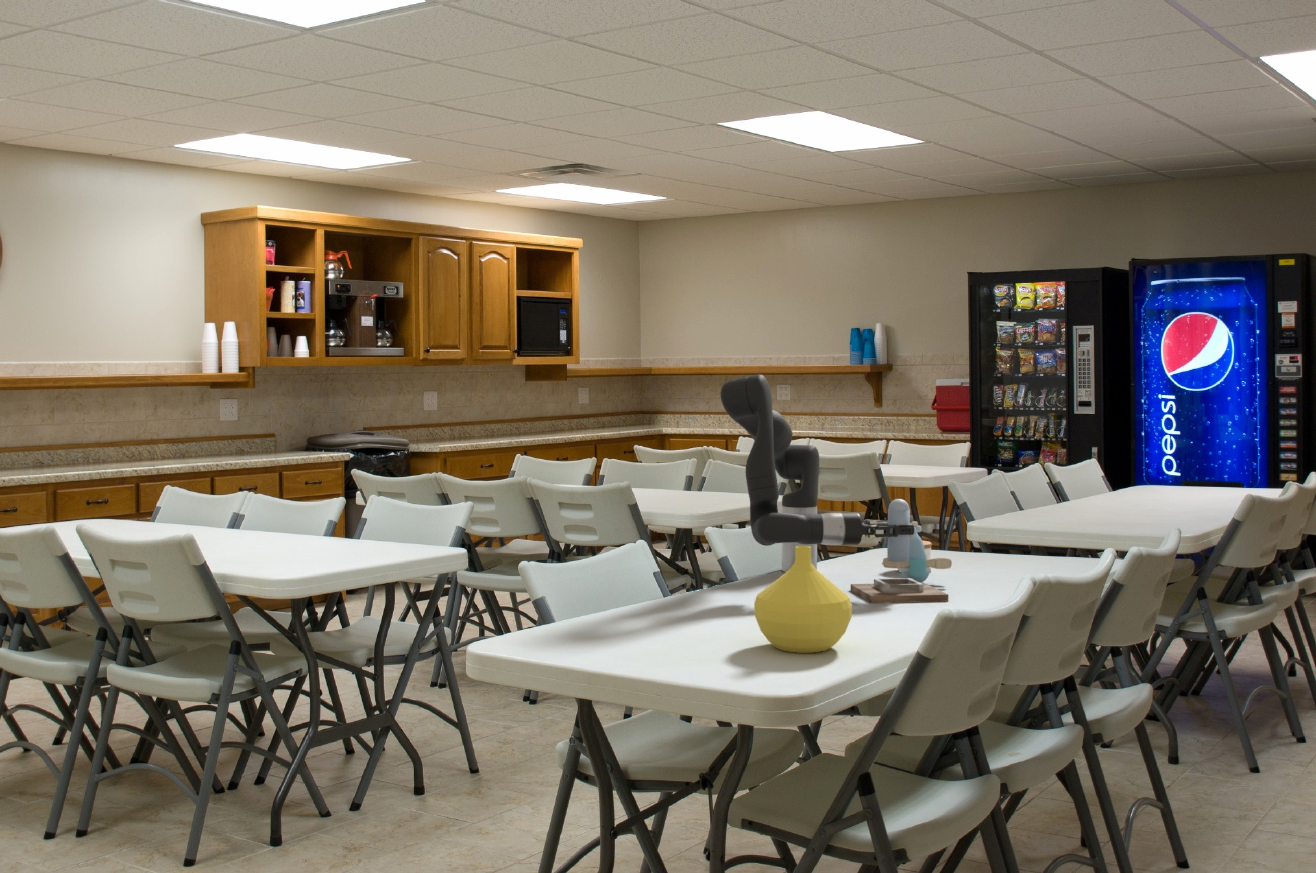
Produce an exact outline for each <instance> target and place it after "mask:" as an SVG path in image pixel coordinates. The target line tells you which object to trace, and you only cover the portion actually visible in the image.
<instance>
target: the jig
mask: <svg viewBox="0 0 1316 873" xmlns="http://www.w3.org/2000/svg"><path fill="white" fill-rule="evenodd" d="M850 591H851V592H853V593H854V594H857V596H860V597H861V598H863V599H864V600H866V601H868V602H870V604H882V603H884V604H885V603H886V604H887V603H920V602H921V603H924V602H926V603H928V602H930V603H931V602H933V603H934V602H949V594H948V593H946V592H943V591H942V590H939V589H938V588H936V587H933V586H931V585H930V584H927V583H924V582H921V583H920V582H918V581H916V580H913V579H911V578H903V577H902V578H899V577H897V578H873V583H851V584H850Z"/></svg>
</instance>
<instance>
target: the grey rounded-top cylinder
mask: <svg viewBox="0 0 1316 873" xmlns="http://www.w3.org/2000/svg"><path fill="white" fill-rule="evenodd" d="M910 518H911V509H910V505H909V504H908V502H907V501H906V500H904V499H902V498H896V499H893V500H891V502H890V503H889V505H888V509H887V521H888V524H891V525H895V524H897V525H910V523H911V522H910V521H911V519H910ZM890 533H893V528H890ZM909 536H910V535H898V536H897V537H887V547H886V548H887V552H886V553H887V554H886V556H887V557H886V558H887V560H888V561H892V562H908V561H909Z"/></svg>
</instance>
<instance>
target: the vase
mask: <svg viewBox="0 0 1316 873" xmlns="http://www.w3.org/2000/svg"><path fill="white" fill-rule="evenodd" d="M753 604H754V617H755V620H756V622H757V624H758V627H759V630H760V632H761V633H762V634H763V636H764V637H765V639H766V640H767V641H768V642H770V643H771V645H773V646H774V647H775V648H777V649H778V650H780V651H783V652H787V653H788V652H789V653H795V652H796V654H814V652H815V653H821V651H822V652H825V651H828V650H830V649H831V648H833V646H835V645H836V644H837V643H838V642H839V641H840V640H841V638H842V637H843V636H844V635H845V634H846V632H847V629H848V626H849V624H850V622H851V619H852V617H853V616H852V615H853V614H852V613H853V604H852V601H851V599H850V596H849V595H848V594H847V593H846V592H844V591H843V590H842V589H840V588H839V587H838V586H837V585H835V584H834V583H833V582H831V581H830V580H829V578H827V577H825V575H823V574H822V573H821V572H820V571H819V570H818V569H817V570H816V568H815V567H814V566H813V564H812V563H811V547H810V546H796V547H795V563H794V564H793V566H792V567H791V568H790V569H789V570H788V571H787V572H784V573H783V574H782V575H781V576H780V577H778V578H777V579H776V580H775V581H773V582H772V583H771V584H769V585H768V586H766V587H765V588H764V589H763V590H762V591H760V592H759V593H758V594H757V595H756V598H755V599H754V603H753Z"/></svg>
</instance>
